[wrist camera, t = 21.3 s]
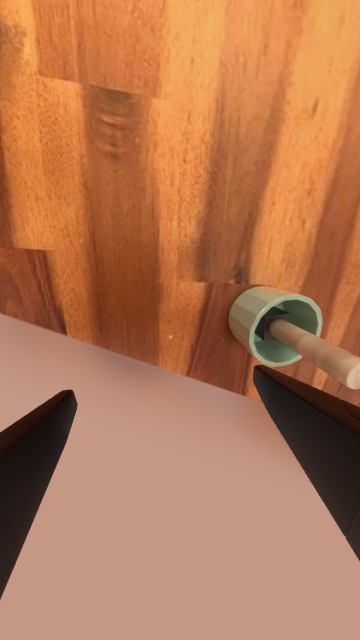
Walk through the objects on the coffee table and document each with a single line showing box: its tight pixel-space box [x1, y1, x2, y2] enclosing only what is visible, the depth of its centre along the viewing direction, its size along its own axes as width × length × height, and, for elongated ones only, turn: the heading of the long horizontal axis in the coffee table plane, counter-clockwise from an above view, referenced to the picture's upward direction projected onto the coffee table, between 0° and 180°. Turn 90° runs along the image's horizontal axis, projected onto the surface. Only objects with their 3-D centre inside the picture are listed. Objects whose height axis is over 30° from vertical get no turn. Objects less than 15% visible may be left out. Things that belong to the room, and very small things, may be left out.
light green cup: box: [228, 286, 323, 367], centre depth 21 cm, size 8×8×6 cm
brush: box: [254, 306, 360, 389], centre depth 17 cm, size 3×3×12 cm
